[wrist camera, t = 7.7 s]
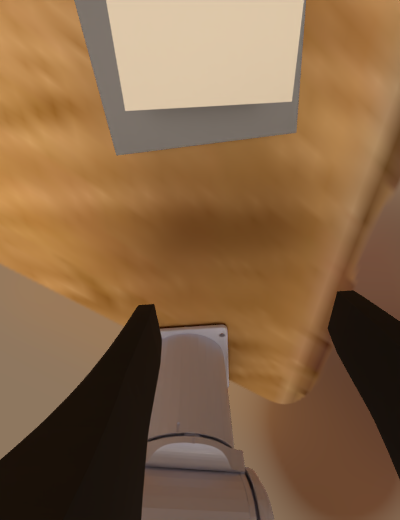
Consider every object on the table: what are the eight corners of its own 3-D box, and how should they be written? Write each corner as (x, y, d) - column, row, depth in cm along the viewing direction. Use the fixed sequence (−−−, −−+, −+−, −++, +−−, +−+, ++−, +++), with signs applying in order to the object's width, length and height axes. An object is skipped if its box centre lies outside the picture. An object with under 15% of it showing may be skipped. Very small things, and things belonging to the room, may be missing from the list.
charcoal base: (277, 124, 16) (296, 132, 13) (130, 143, 16) (116, 155, 13) (286, -115, 11) (320, -189, 8) (77, -79, 11) (37, -136, 9)
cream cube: (258, 98, 12) (291, 101, 8) (149, 104, 12) (124, 110, 8) (267, -65, 9) (326, -194, 5) (128, -57, 10) (75, -176, 5)
